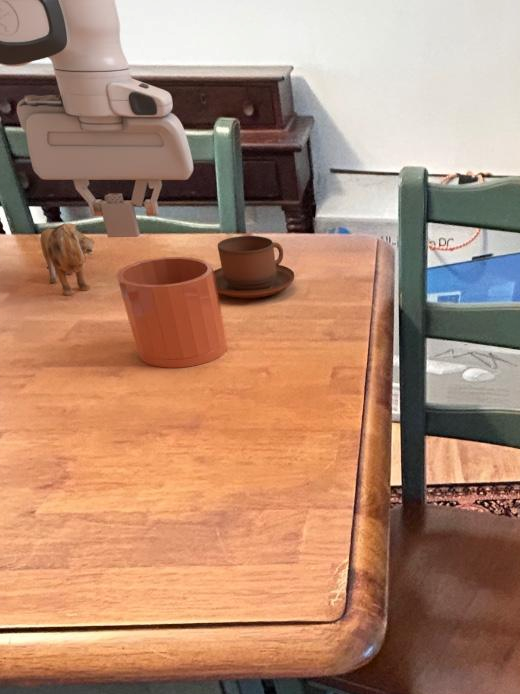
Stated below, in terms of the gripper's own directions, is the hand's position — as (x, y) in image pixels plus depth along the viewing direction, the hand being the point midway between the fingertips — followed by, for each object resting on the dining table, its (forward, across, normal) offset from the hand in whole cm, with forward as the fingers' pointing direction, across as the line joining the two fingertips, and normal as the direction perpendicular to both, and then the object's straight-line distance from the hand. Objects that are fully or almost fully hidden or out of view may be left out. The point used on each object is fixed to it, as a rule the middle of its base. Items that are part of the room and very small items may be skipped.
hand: (126, 215), depth 103 cm
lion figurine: (+8, -8, -4) cm, 12 cm away
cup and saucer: (+8, +17, -9) cm, 20 cm away
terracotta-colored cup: (+8, +10, -29) cm, 31 cm away
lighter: (+3, 0, 0) cm, 3 cm away
